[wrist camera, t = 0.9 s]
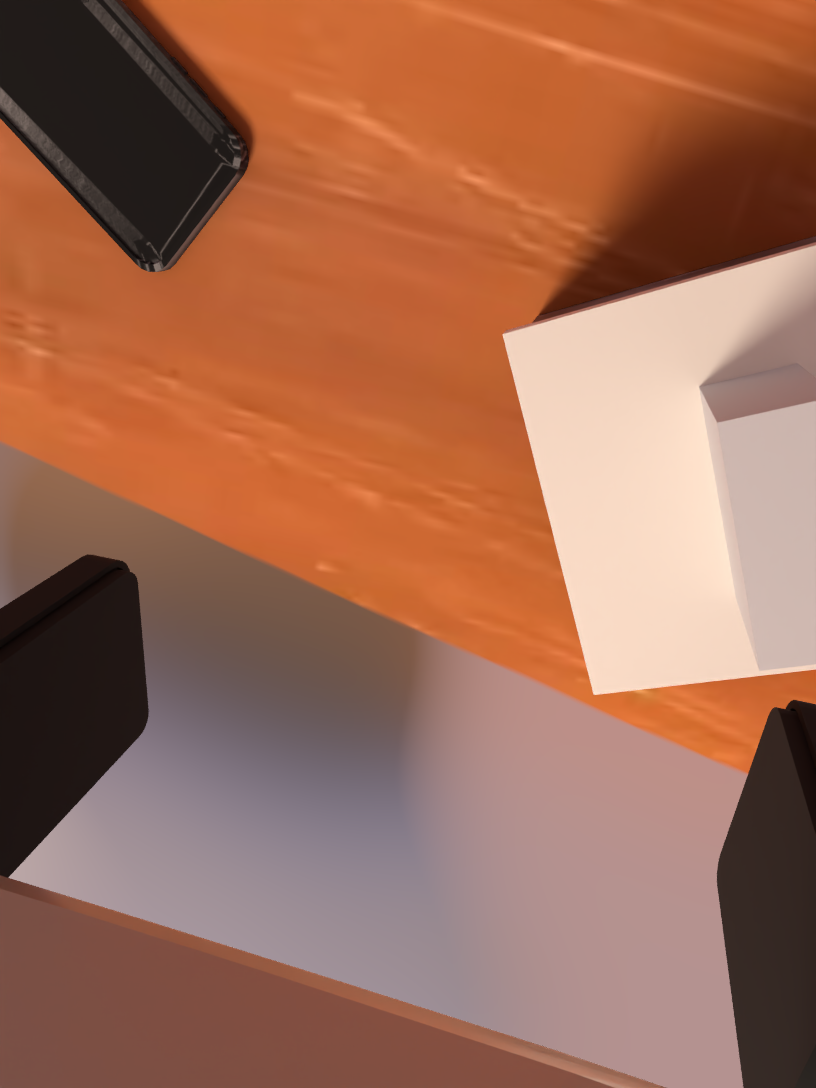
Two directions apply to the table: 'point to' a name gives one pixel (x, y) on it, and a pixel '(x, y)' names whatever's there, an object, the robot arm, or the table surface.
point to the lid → (682, 472)
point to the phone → (117, 123)
